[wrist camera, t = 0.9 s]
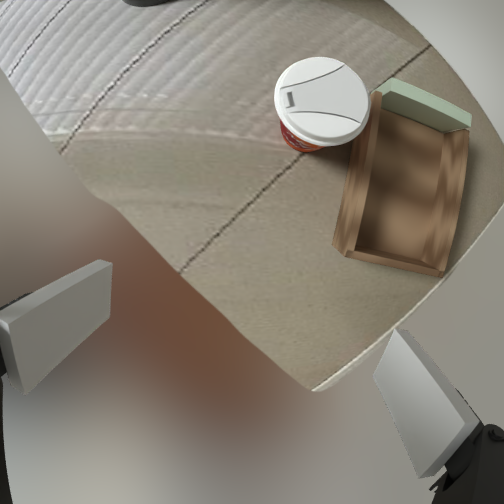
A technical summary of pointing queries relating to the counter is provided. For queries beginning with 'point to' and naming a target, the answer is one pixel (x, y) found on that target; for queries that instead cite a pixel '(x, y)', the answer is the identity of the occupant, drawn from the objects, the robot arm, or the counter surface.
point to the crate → (402, 193)
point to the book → (422, 106)
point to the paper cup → (320, 104)
